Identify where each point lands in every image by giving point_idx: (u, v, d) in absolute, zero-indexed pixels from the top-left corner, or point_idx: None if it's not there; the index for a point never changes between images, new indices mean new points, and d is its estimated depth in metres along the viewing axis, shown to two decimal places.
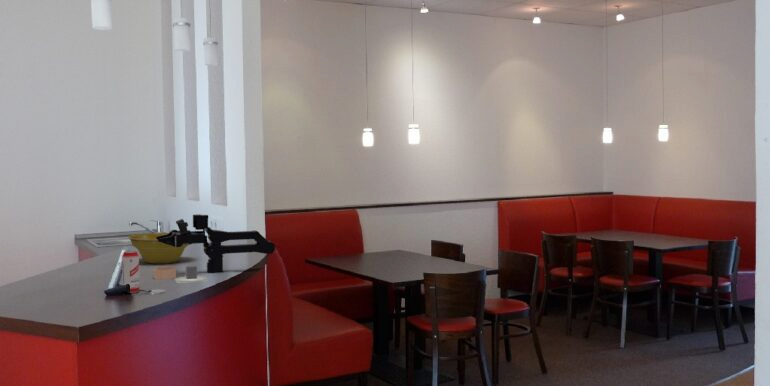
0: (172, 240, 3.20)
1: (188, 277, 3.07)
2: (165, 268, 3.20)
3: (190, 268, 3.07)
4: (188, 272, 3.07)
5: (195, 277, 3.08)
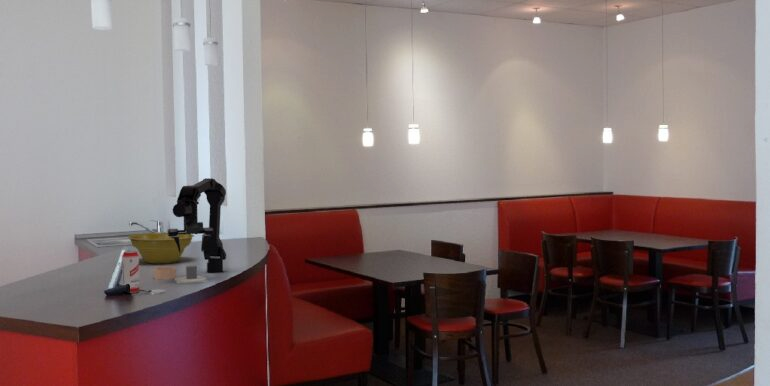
0: None
1: (188, 277, 3.07)
2: (165, 268, 3.20)
3: (190, 268, 3.07)
4: (188, 272, 3.07)
5: (195, 277, 3.08)
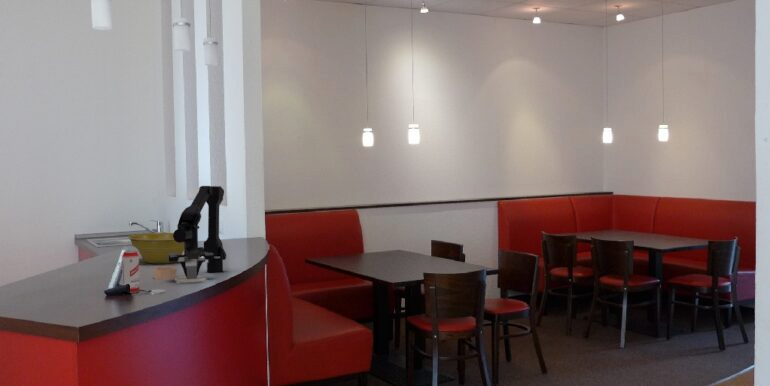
0: None
1: (188, 277, 3.07)
2: (165, 268, 3.20)
3: (190, 268, 3.07)
4: (188, 272, 3.07)
5: (195, 277, 3.08)
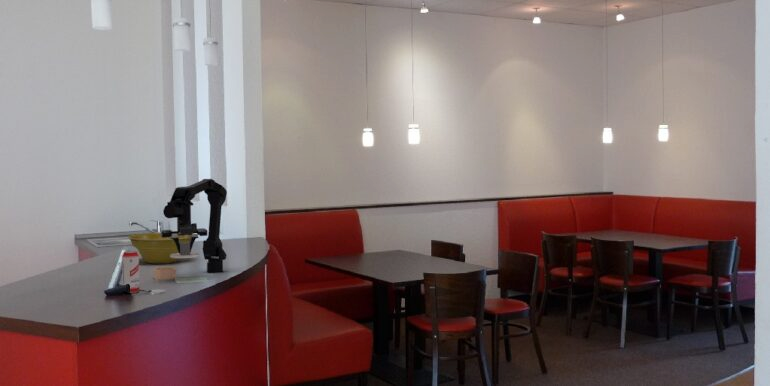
0: None
1: (181, 253, 3.08)
2: (165, 268, 3.20)
3: (183, 244, 3.08)
4: (181, 248, 3.08)
5: (188, 253, 3.09)
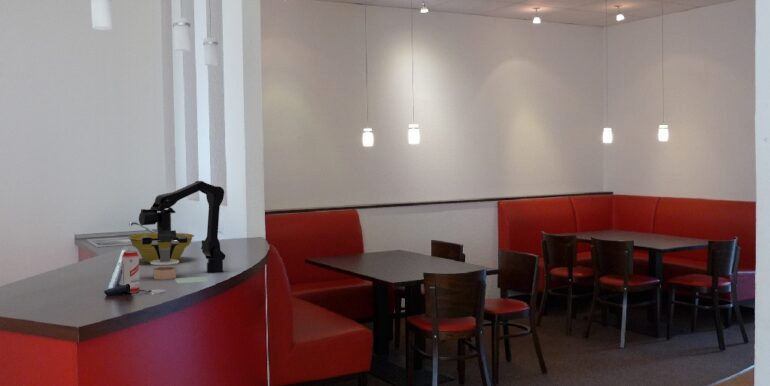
0: None
1: (161, 260, 3.13)
2: (165, 268, 3.20)
3: (163, 251, 3.13)
4: (161, 255, 3.13)
5: (168, 260, 3.14)
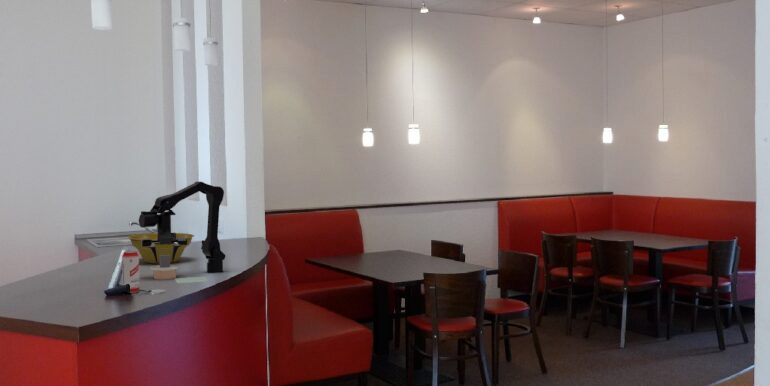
0: None
1: (161, 266, 3.13)
2: None
3: (163, 257, 3.14)
4: (161, 261, 3.13)
5: (168, 266, 3.14)
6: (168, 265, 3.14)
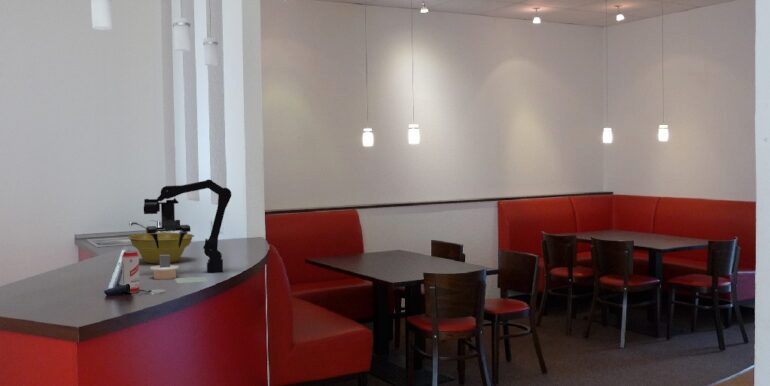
0: None
1: (161, 266, 3.13)
2: None
3: (163, 257, 3.14)
4: (161, 261, 3.13)
5: (168, 266, 3.14)
6: (168, 265, 3.14)
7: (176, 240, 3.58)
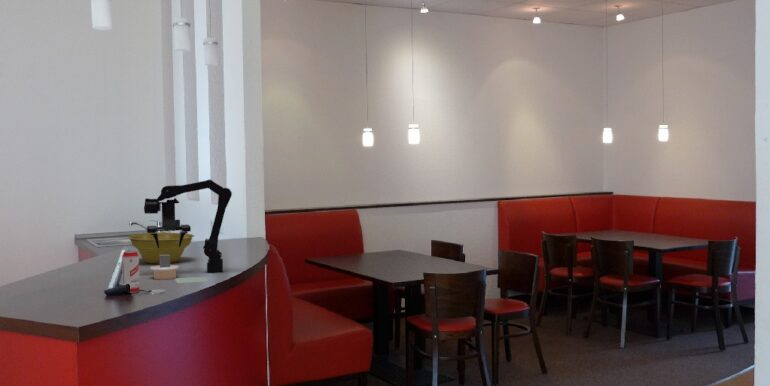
0: None
1: (161, 266, 3.13)
2: None
3: (163, 257, 3.14)
4: (161, 261, 3.13)
5: (168, 266, 3.14)
6: (168, 265, 3.14)
7: (176, 240, 3.58)
